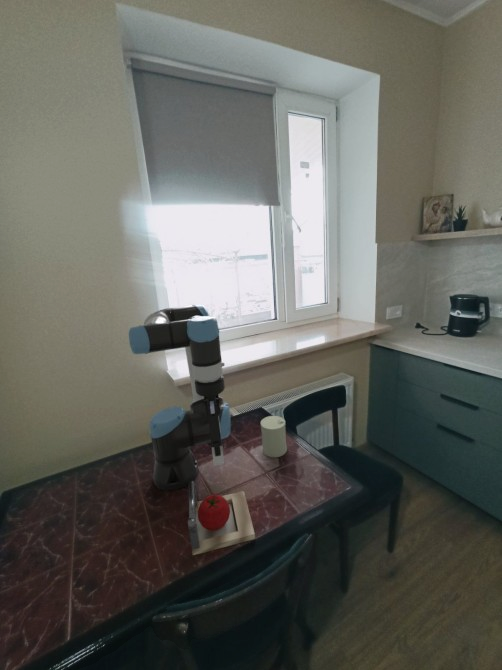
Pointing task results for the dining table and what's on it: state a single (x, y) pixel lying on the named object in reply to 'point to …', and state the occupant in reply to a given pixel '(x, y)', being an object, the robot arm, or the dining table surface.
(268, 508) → the dining table surface
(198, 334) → the robot arm
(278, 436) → the can
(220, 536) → the beige flat square frame
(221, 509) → the tomato
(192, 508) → the grey curved bar
